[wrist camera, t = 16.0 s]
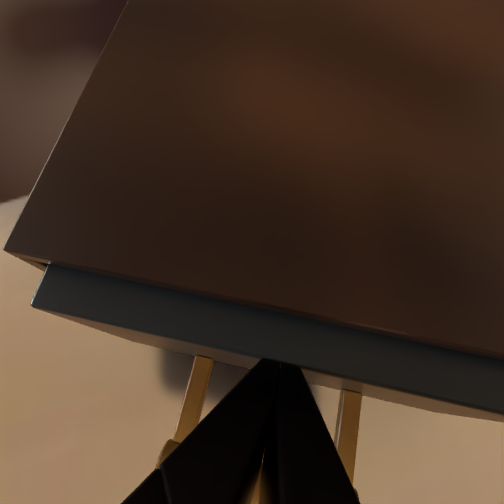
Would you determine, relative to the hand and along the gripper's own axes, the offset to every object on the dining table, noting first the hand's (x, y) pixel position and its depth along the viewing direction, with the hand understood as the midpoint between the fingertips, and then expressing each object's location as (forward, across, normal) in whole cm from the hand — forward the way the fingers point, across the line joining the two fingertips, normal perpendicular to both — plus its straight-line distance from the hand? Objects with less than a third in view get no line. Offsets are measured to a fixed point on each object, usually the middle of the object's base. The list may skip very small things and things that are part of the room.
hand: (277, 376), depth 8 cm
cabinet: (+11, 0, -1) cm, 11 cm away
